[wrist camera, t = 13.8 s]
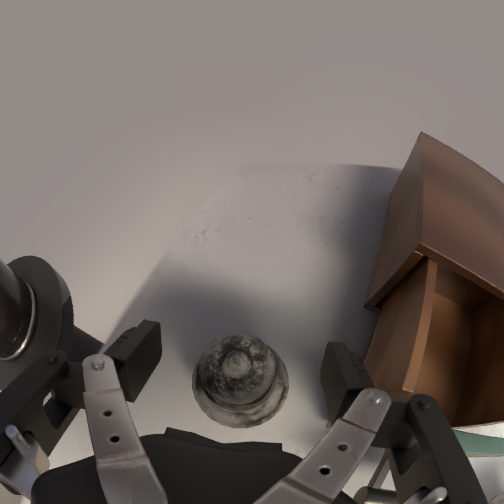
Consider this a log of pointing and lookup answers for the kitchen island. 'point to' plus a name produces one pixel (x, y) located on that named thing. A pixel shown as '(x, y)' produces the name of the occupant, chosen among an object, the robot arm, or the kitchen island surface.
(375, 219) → the kitchen island surface
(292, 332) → the kitchen island surface
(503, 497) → the french press
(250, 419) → the stone chess piece
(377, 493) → the drawer
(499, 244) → the cabinet
